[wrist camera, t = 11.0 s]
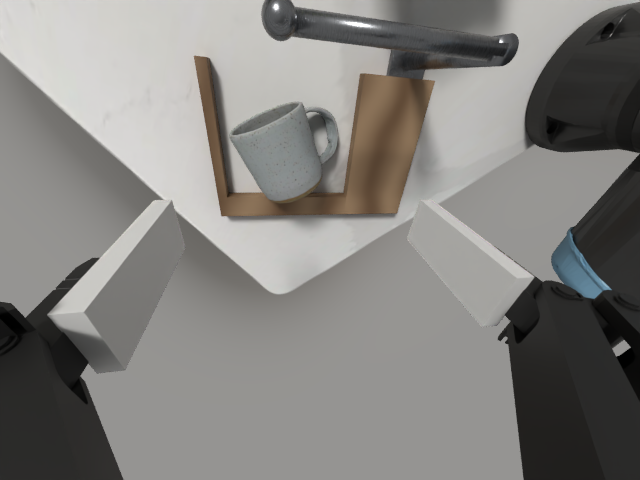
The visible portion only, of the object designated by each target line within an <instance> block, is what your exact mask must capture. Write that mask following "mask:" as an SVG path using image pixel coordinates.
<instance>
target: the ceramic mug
mask: <svg viewBox="0 0 640 480" xmlns="http://www.w3.org/2000/svg"><path fill="white" fill-rule="evenodd" d="M308 112H317V113H319V114H321V115H322V117H323V119H324V120H325V124H326V129H327V134H328V137H327V139H328V141H329V142H328V146H327V148H326V150H325V152H324V153H323V154H322V155H321V156H320V157H319V156H318V153H317V150H316V147H315V144H314V141H313V137H312V133H311V130H310V126H309V123H308V120H307V116H306V113H308ZM229 136H230V139H231V141H232V143H233V144H234V146H235V148H236V149H237V151H238V153H239V154H240V156H241V158H242V159H243V161H244V163H245V164H246V166H247V168H248V169H249V171H250V172H251V174H252V176H253V177H254V179H255V181H256V183H257V184H258V186H259V188H260V189H261V191H262V192H263V193H264V194H265V196H266V197H267V198H268V199H269V200H271V201H272V202H276V203H289V202H293V201H296V200H299V199H301V198H303V197H305V196H307V195H308V194H310V193H311V192H312V191H314V190H315V189H316V188H317V186H318V185H319V183H320V182H321V179H322V168H321V164H323V163H325V162H326V161H327V160H329V159H330V158H331V156H332V155H333V154H334V152H335V150H336V147H337V143H338V129H337V125H336V121H335V119H334V117H333V116H332V114H331V113H330V112H328V111H327V110H325V109H323V108H319V107H309V108H304V106H303V104H302V103H301V102H291V103H286V104H283V105H280V106H277V107H275V108H272V109H269V110H266V111H264V112H262V113H260V114H257V115H255V116H254V117H251V118H250V119H248V120H246V121H244V122H243V123H241V124H239V125H238V126H237V127H236V128H234V129H233V130H232V131H231V133H230V135H229Z"/></svg>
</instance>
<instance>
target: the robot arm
mask: <svg viewBox="0 0 640 480" xmlns="http://www.w3.org/2000/svg"><path fill="white" fill-rule="evenodd" d="M526 126H527V132H528V135H529V137H530V139H531V140H532V141H533V143H534V144H536V145H537V146H539V147H542V148H546V149H549V150H553V151H557V152H578V151H596V150H613V149H622V150H627V151H632V152H637V153H640V2H637V3H632V4H627V5H622V6H617V7H613V8H610V9H608V10H605V11H603V12H601V13H599V14H598V15H596V16H594V17H593V18H591V19H590V20H588V21H587V22H586V23H584V24H583V25H582V26H580V27H579V28H578V29H577V30H576V31H575V32H574V33H573V34H572V35H571V36H570V37H569V38H568V39H567V40H566V41H565V42H564V43H563V44H562V45H561V46H560V47H559V49H558V50H557V51H556V52H555V54H554V55H553V56H552V58H551V59H550V61H549V62H548V64H547V65H546V67H545V68H544V70H543V72H542V73H541V75H540V77H539V79H538V81H537V83H536V85H535V87H534V90H533V92H532V95H531V98H530V101H529V105H528V109H527V116H526ZM407 240H408V241H409V242H410V243H411V245H413V247H414V248H415V249H416V251H417V252H418V253H419V254H420V255H421V256H422V258H423V259H424V260H425V261H426V262H427V263H428V264H429V266H430V267H431V268H432V269H433V270H434V271H435V273H436V274H437V275H438V276H439V277H440V279H441V280H442V281H443V282H444V283H445V285H446V286H447V287H448V288H449V289H450V290H451V292H452V293H453V294H454V295H455V296H456V297H457V299H458V300H459V301H460V302H461V303H462V305H463V306H464V307H465V308H466V309H467V310H468V312H469V313H470V314H471V315H472V316H473V317H474V319H475V320H476V321H477V322H478V323H479V324H480V326H481V327H487V326H496V325H498V324H499V322H500V321H501V320H502V318H503V317H504V316H506V317H507V318H508V319H509V320H510V321H511V322H510V323H509V324H508V325H507V326H506V328H505V329H504V330H503V331H502V333H501V334H500V335H499V337H498V340H499V341H501V340H502V339H503V338H504V337H505V336H506V337H508V339H507V341H506V342H505V343H506V344H508V345H509V353H510V362H511V371H512V379H513V388H514V398H515V407H516V415H517V424H518V432H519V442H520V451H521V459H522V469H523V477H524V480H640V154H639V155H638V156H637V157H636V159H635V160H634V161H633V162H632V163H631V164H630V165H629V166H628V169H627V168H626V170H625V171H624V172H623V173H622V174H621V175H620V176H619V178H618V179H617V180H616V181H615V182H614V183H613V184H612V186H611V187H610V188H609V189H608V190H607V191H606V193H605V194H604V195H603V196H602V197H601V198H600V199H599V200H598V201H597V203H596V204H595V205H594V206H593V207H592V208H591V209H590V210H589V211H588V213H587V214H586V215H585V216H584V217H583V218H582V219H581V220H580V221H579V223H578V224H577V225H576V226H575V227H571V228H570V229H569V230H568V232H567V236H566V237H565V238H564V240H563V241H562V242H561V243H560V245H559V246H558V247H557V248H556V250H555V251H554V253H553V254H552V259H551V260H552V261H551V262H552V266H553V269H554V271H555V272H556V274H557V275H558V277H559V278H560V280H561V281H562V282H563V283H564V284H565V285H564V284H562V283H559V282H555V281H544V282H542V281H541V280H539V279H538V278H537V277H535V276H534V275H532V274H531V273H530V272H528V271H527V270H526V269H524V268H523V267H522V266H521V265H519V264H518V263H517V262H515V261H513V260H512V259H511V258H510V257H508V256H507V255H505V253H503V252H502V251H500V250H499V249H498V248H496V247H495V246H493V245H491V244H490V243H489V242H487V241H486V240H485V239H483V238H482V237H481V236H480V235H478V234H477V233H476V232H474V231H473V230H471V229H470V228H469V227H468V226H466V225H465V224H463V223H462V222H461V221H460V220H458V219H457V218H456V217H454V216H453V215H452V214H450V213H449V212H448V211H446V210H445V209H444V208H442V207H441V206H440V205H438V204H437V203H436V202H434V201H433V200H420V202H419V205H418V208H417V211H416V214H415V217H414V219H413V222H412V226H411V228H410V231H409V234H408V237H407ZM184 249H185V244H184V240H183V237H182V234H181V230H180V226H179V223H178V220H177V216H176V213H175V209H174V206H173V202H172V200H154V201H153V202H152V203H151V204H150V205H149V206H148V207H147V208H146V210H145V211H144V212H143V213H142V214H141V215H140V216H139V217H138V218H137V219H136V220H135V221H134V222H133V223H132V225H131V226H130V227H129V228H128V229H127V230H126V231H125V232H124V233H123V234H122V235H121V236H120V237H119V238H118V239H117V241H116V242H115V243H114V244H113V245H112V246H111V247H110V248H109V249H108V250H107V251H106V252H105V254H103V255H102V257H101V258H92V259H90V260H88V261H86V262H85V263H83V264H81V265H80V266H78V267H77V268H75V269H74V270H73V271H72V272H71V273H70V274H69V275H68V276H67V277H66V279H65V281H62V282H61V283H60V284H59V285H58V286H57V287H56V290H53V291H52V292H51V293H50V294H49V295H48V296H47V297H46V298H45V299H44V300H43V301H42V302H41V303H40V304H39V305H38V306H37V307H36V308H35V309H34V310H33V311H32V312H31V313H30V314H29V315H28V316H27V317H26V318H25V317H24V316H23V315H22V314H21V313H20V312H19V311H18V310H17V309H16V308H15V307H14V306H13V305H12V304H11V303H5V302H0V480H123V477H122V475H121V472H120V470H119V467H118V465H117V462H116V460H115V457H114V454H113V452H112V449H111V447H110V444H109V442H108V439H107V437H106V434H105V432H104V429H103V427H102V424H101V421H100V419H99V416H98V414H97V411H96V409H95V406H94V404H93V401H92V398H91V396H90V393H89V391H88V388H87V386H86V383H85V381H84V380H83V379H82V378H81V377H80V375H81V374H82V372H83V371H84V369H85V367H86V366H87V364H89V365H90V366H91V367H92V368H93V369H94V371H95V372H96V373H105V372H114V371H122V370H126V368H127V365H128V363H129V361H130V359H131V357H132V355H133V353H134V351H135V349H136V347H137V345H138V343H139V341H140V339H141V337H142V335H143V333H144V331H145V329H146V327H147V325H148V323H149V320H150V319H151V316H152V314H153V312H154V310H155V308H156V306H157V304H158V302H159V300H160V298H161V296H162V294H163V292H164V290H165V288H166V286H167V284H168V282H169V280H170V278H171V276H172V274H173V271H174V270H175V268H176V266H177V264H178V261H179V259H180V257H181V255H182V253H183V251H184ZM623 340H625V341H626V342H627V343H628V344H629V345H630V347H631V348H630V349H628V350H627V351H625V352H624V353H623V354H621V355H620V356H617V357H616V356H615V354H614V352H613V350H612V348H613V347H615V346H616V345H617V344H619V343H620V342H621V341H623Z"/></svg>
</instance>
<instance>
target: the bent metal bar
mask: <svg viewBox="0 0 640 480" xmlns="http://www.w3.org/2000/svg"><path fill="white" fill-rule="evenodd" d="M261 16H262V22H263V26H264V28H265V30H266V32H267V33H268V34H269V36H271V37H272V38H273V39H275V40H277V41H285V40H288V39H289V38H290V37H298V38H306V39H314V40H322V41H330V42H338V43H345V44H353V45H361V46H369V47H377V48H385V49H392V50H391V55H390V60H389V65H388V70H387V76H393V77H403V78H412V79H423V75H424V71H425V70H426V69H448V68H470V67H492V66H504V65H506V64H508V63H509V62H510V61H511V60H512V59H513V57H514V56H515V54H516V52H517V49H518V45H519V40H518V37H517V36H516V35H515V34H513V33H511V34H505V35H499V36H494V37H490V36H484V35H477V34H471V33H464V32H458V31H451V30H445V29H438V28H431V27H425V26H418V25H412V24H405V23H399V22H392V21H385V20H379V19H372V18H366V17H359V16H353V15H346V14H340V13H333V12H326V11H320V10H313V9H307V8H300V7H294V5H293V3H292V2H291V0H265V1H264V3H263V6H262V12H261Z"/></svg>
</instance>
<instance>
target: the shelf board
mask: <svg viewBox="0 0 640 480" xmlns="http://www.w3.org/2000/svg"><path fill="white" fill-rule="evenodd" d="M194 59H195V65H196V71H197V77H198V83H199V88H200V94H201V100H202V106H203V112H204V118H205V123H206V129H207V135H208V141H209V147H210V152H211V158H212V164H213V170H214V176H215V181H216V187H217V193H218V199H219V205H220V210H221V216H263V215H322V214H381V213H397V211H398V208H399V204H400V201H401V197H402V194H403V190H404V187H405V183H406V180H407V176H408V173H409V169H410V166H411V162H412V159H413V156H414V152H415V149H416V145H417V142H418V138H419V135H420V131H421V128H422V124H423V121H424V117H425V114H426V110H427V107H428V103H429V100H430V96H431V93H432V89H433V86H434V83H435V81H431V80H422V79H412V78H403V77H393V76H383V75H374V74H360V79H359V86H358V93H357V100H356V107H355V115H354V122H353V129H352V136H351V143H350V150H349V157H348V164H347V171H346V179H345V186H344V193H310V194H308V195H307V196H305V197H303V198H301V199H299V200H296V201H293V202H289V203H276V202H272V201H271V200H269V199H268V198H267V197H266V196H265V194H264V193H229V191H228V184H227V177H226V170H225V163H224V156H223V149H222V142H221V136H220V129H219V122H218V115H217V108H216V101H215V94H214V87H213V80H212V73H211V66H210V59H209V58H207V57H200V56H194Z"/></svg>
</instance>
